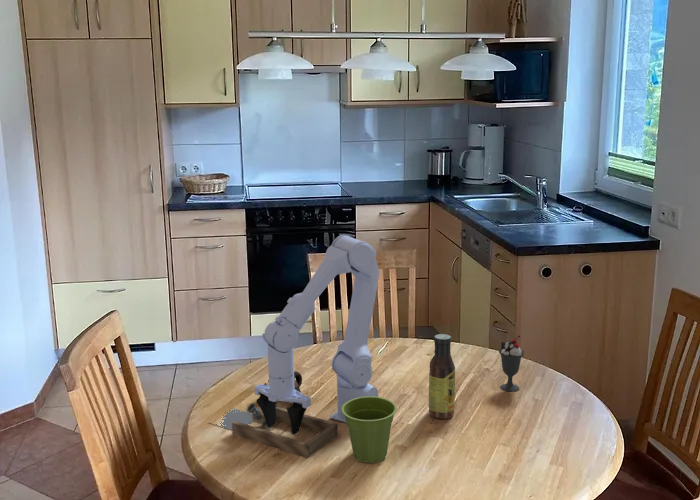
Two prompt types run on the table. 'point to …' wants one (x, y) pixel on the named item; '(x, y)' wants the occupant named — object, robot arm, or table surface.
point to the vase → (257, 415)
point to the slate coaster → (236, 418)
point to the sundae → (510, 362)
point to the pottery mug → (296, 381)
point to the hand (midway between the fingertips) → (283, 429)
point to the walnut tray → (285, 443)
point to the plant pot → (369, 426)
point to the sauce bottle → (442, 379)
